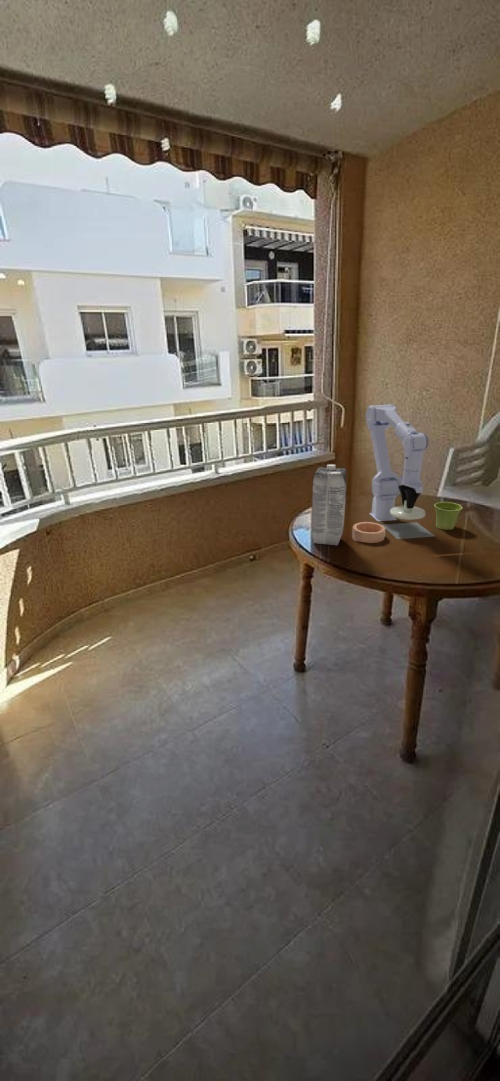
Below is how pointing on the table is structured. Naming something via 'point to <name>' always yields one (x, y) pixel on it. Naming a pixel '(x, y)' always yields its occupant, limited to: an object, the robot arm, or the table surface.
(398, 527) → the mat
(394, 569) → the table surface
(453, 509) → the plant pot
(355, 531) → the bowl
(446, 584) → the table surface
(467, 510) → the table surface
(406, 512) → the lid
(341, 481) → the juice carton
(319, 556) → the table surface
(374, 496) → the robot arm
